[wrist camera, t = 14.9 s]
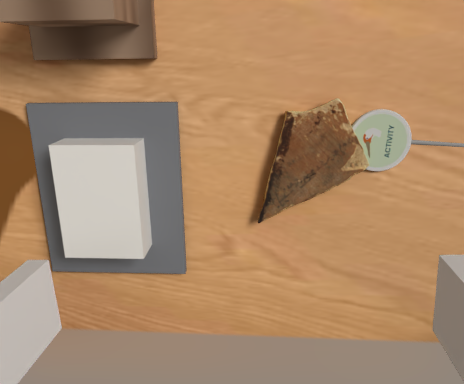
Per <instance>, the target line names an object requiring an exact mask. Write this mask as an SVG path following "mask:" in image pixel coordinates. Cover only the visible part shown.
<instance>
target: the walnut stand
mask: <svg viewBox="0 0 464 384" xmlns="http://www.w3.org/2000/svg"><path fill="white" fill-rule="evenodd" d="M0 22H4V23H12V24H20V25H28V26H29V30H30V37H31V44H32V50H33V57H34V60H71V59H138V58H157V46H156V31H155V15H154V0H0Z"/></svg>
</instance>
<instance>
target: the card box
mask: <svg viewBox="0 0 464 384" xmlns="http://www.w3.org/2000/svg"><path fill="white" fill-rule="evenodd" d="M49 152H50V159H51V165H52V172H53V179H54V186H55V192H56V199H57V206H58V213H59V219H60V226H61V233H62V239H63V246H64V253H65V258H116V259H144V258H145V256H146V254H147V252H148V251H149V249H150V247H151V245H152V236H151V223H150V211H149V198H148V185H147V172H146V160H145V147H144V138H64V139H62V140H60V141H57V142H55V143H53V144H50V145H49Z"/></svg>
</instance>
